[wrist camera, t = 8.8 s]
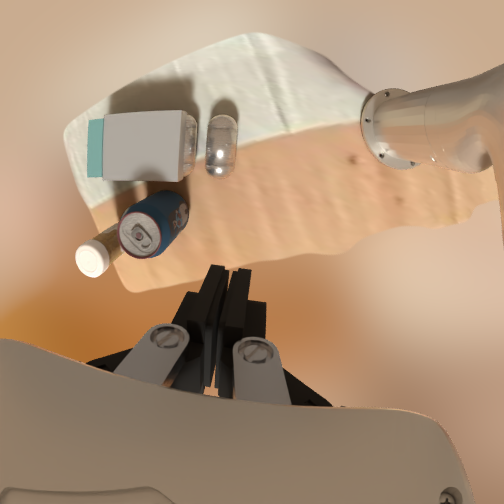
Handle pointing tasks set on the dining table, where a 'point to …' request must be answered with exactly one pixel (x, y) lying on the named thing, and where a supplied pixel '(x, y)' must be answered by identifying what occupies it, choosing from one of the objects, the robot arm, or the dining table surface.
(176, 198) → the soda can
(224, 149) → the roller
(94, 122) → the block
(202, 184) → the dining table surface
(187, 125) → the roller mid
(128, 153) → the slab
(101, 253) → the sprinkles bottle
